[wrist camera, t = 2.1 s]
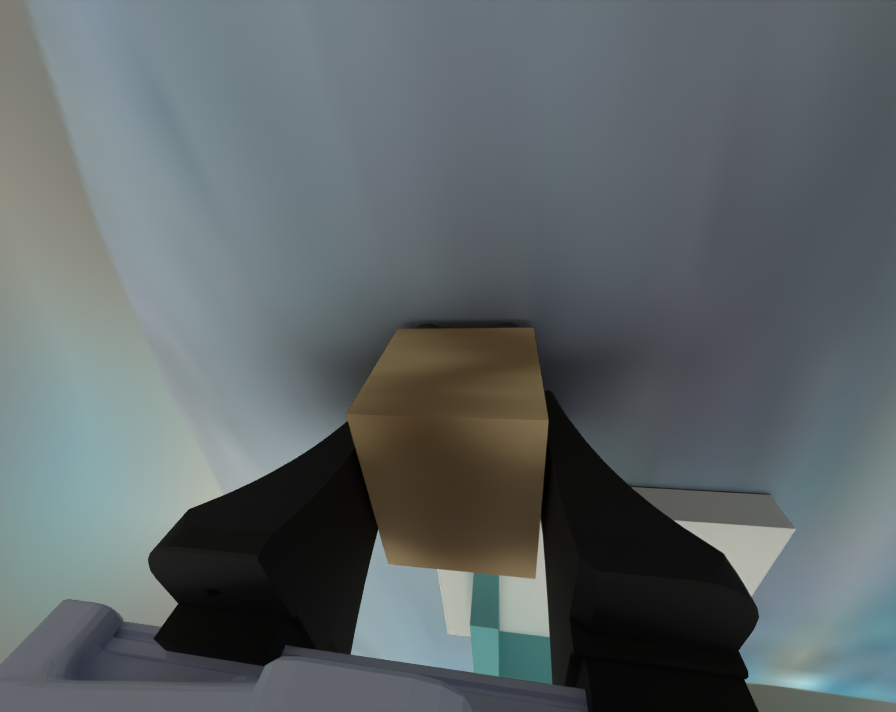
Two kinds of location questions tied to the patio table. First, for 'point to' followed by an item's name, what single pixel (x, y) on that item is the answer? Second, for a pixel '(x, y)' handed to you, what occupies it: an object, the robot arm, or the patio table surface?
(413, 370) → the cardboard box
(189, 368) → the patio table surface
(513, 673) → the dock
